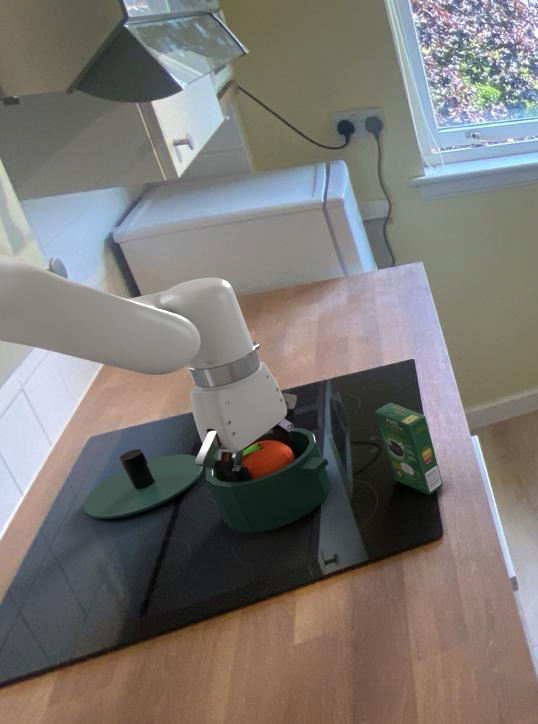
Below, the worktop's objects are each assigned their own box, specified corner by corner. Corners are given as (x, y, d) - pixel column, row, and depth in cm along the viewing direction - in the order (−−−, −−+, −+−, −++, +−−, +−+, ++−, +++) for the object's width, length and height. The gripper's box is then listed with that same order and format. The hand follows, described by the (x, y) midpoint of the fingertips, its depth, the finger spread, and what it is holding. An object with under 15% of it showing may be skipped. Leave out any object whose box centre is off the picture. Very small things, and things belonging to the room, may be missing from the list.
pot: (302, 538, 102) (283, 490, 99) (186, 527, 105) (164, 480, 101) (366, 476, 114) (351, 431, 111) (260, 467, 117) (243, 424, 113)
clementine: (246, 510, 103) (229, 469, 100) (229, 490, 107) (213, 450, 104) (309, 480, 108) (294, 441, 106) (290, 462, 112) (276, 424, 110)
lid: (143, 526, 105) (125, 489, 103) (60, 518, 107) (39, 482, 105) (227, 462, 118) (212, 429, 115) (151, 456, 120) (135, 423, 117)
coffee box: (446, 485, 112) (426, 413, 106) (430, 497, 109) (408, 424, 104) (411, 470, 115) (390, 400, 110) (395, 481, 113) (372, 410, 107)
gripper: (253, 335, 108) (290, 434, 115) (140, 400, 92) (191, 510, 100) (298, 337, 107) (332, 437, 114) (192, 404, 91) (239, 515, 99)
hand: (266, 470), depth 107 cm, fingers closed on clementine, 7 cm apart
